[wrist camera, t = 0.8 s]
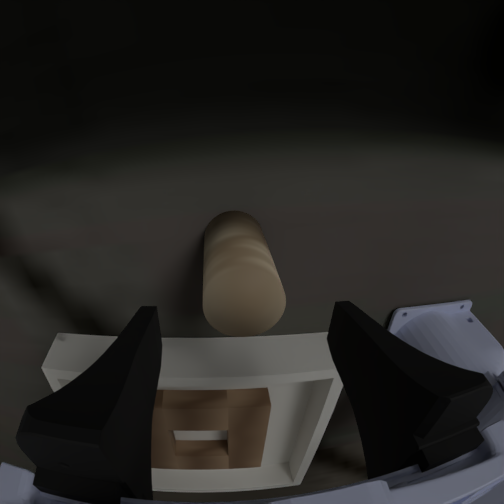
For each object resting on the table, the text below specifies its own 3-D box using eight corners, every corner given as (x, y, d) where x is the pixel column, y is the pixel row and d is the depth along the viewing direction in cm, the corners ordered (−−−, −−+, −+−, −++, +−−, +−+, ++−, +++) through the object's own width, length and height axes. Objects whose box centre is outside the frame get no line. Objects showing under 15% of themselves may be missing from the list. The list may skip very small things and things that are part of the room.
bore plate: (267, 387, 25) (271, 405, 24) (258, 452, 31) (260, 466, 29) (124, 387, 24) (120, 406, 22) (149, 453, 29) (148, 467, 27)
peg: (264, 211, 20) (290, 268, 13) (260, 263, 21) (281, 335, 15) (204, 210, 19) (201, 269, 13) (204, 264, 21) (204, 337, 15)
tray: (333, 331, 25) (349, 367, 21) (293, 458, 35) (299, 484, 31) (57, 332, 22) (41, 367, 18) (119, 460, 32) (116, 486, 28)
